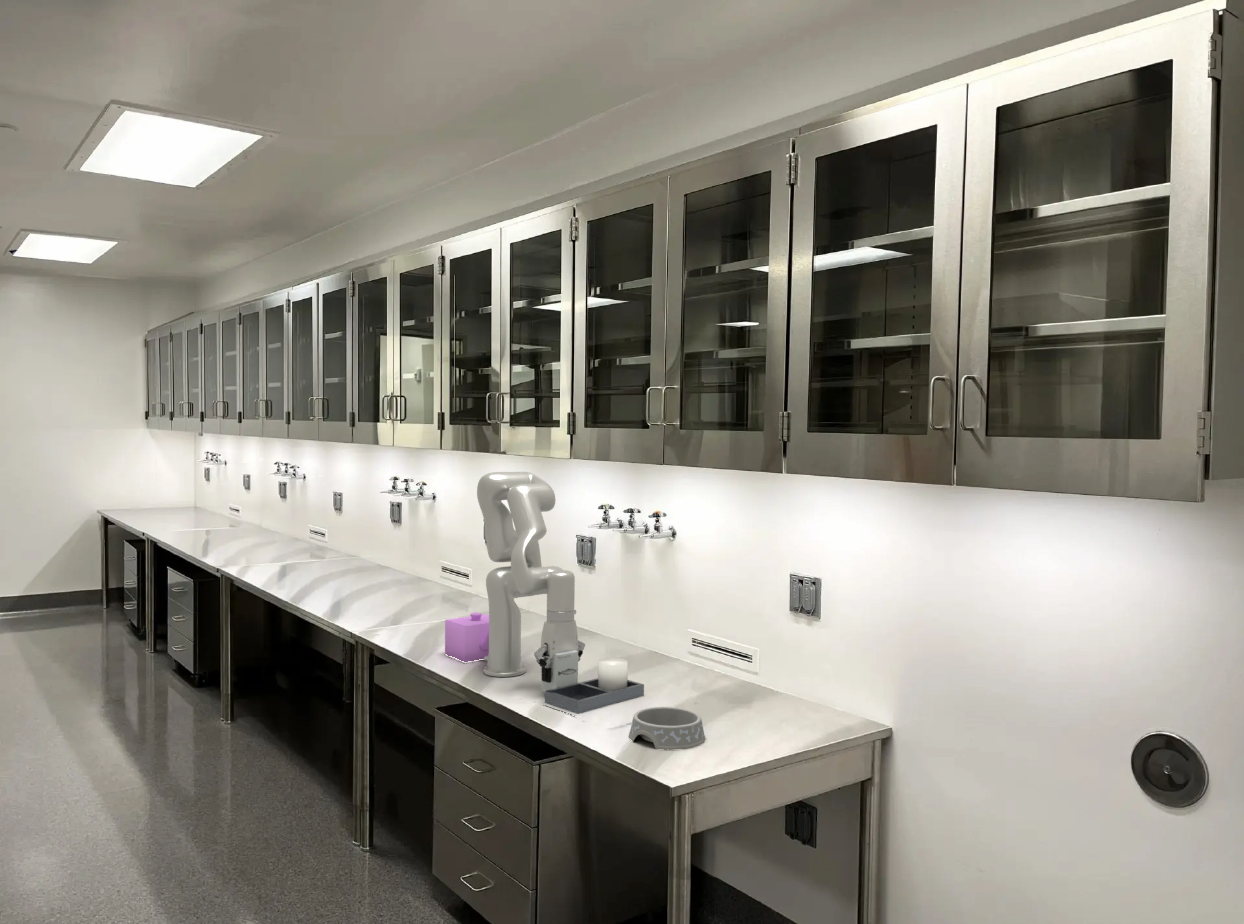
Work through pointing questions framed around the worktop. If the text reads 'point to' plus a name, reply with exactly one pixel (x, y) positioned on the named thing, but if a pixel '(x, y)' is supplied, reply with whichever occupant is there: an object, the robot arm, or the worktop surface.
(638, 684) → the divided grey tray
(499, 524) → the robot arm
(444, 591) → the worktop surface
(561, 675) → the supplement box
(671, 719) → the dog bowl
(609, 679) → the white rounded cylinder
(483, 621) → the teapot
